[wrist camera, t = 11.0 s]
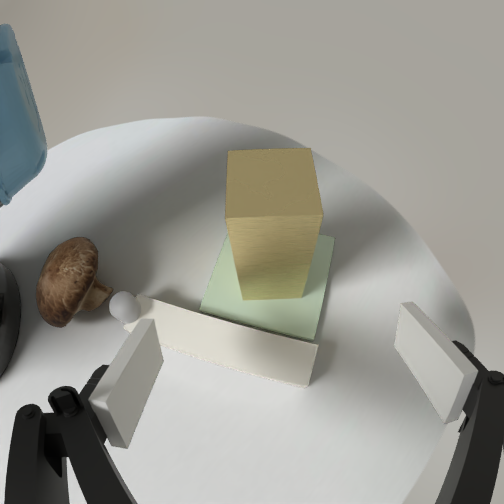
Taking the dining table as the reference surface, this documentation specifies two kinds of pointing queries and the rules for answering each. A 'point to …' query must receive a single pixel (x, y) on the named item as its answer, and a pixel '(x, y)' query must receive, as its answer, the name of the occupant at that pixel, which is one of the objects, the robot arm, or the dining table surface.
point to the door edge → (220, 340)
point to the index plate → (274, 310)
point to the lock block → (272, 220)
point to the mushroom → (70, 282)
